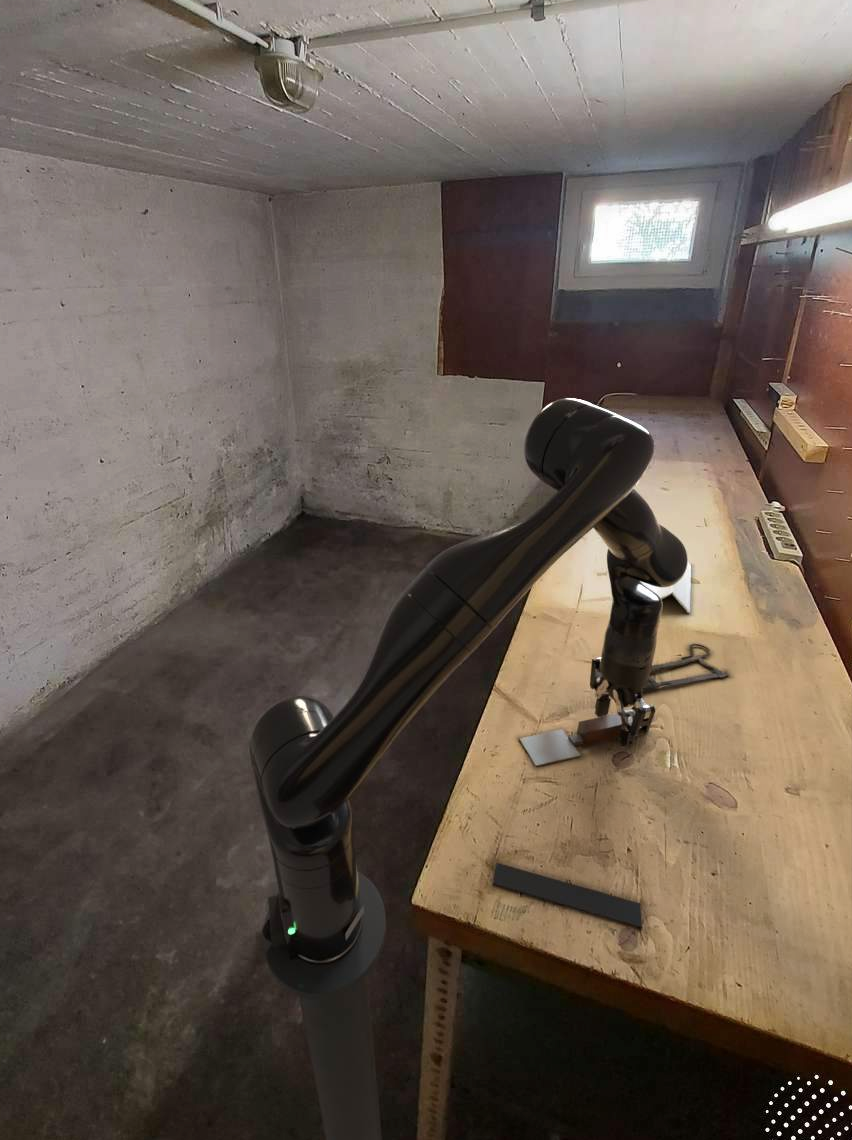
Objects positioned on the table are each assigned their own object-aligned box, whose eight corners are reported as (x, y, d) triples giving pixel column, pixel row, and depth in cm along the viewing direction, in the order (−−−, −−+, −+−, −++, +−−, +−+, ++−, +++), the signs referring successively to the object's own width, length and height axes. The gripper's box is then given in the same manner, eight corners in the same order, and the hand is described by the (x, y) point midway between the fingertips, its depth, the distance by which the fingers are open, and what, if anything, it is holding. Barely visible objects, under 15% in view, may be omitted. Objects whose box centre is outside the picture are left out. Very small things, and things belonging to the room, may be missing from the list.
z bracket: (669, 576, 151) (690, 564, 148) (665, 624, 131) (689, 612, 128) (640, 542, 151) (661, 530, 147) (631, 585, 131) (655, 572, 127)
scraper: (632, 714, 100) (634, 701, 98) (653, 738, 95) (657, 725, 93) (519, 739, 95) (520, 726, 94) (535, 766, 90) (537, 752, 89)
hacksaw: (627, 697, 104) (628, 690, 103) (597, 663, 113) (597, 657, 112) (738, 675, 108) (740, 668, 108) (700, 644, 117) (702, 638, 117)
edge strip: (492, 884, 73) (492, 883, 73) (496, 863, 76) (496, 862, 75) (641, 928, 68) (641, 927, 68) (640, 904, 70) (640, 903, 70)
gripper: (582, 628, 94) (571, 705, 101) (635, 683, 81) (618, 766, 88) (621, 621, 95) (608, 697, 103) (680, 674, 83) (659, 756, 90)
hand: (612, 729), depth 95 cm, fingers open, 6 cm apart
